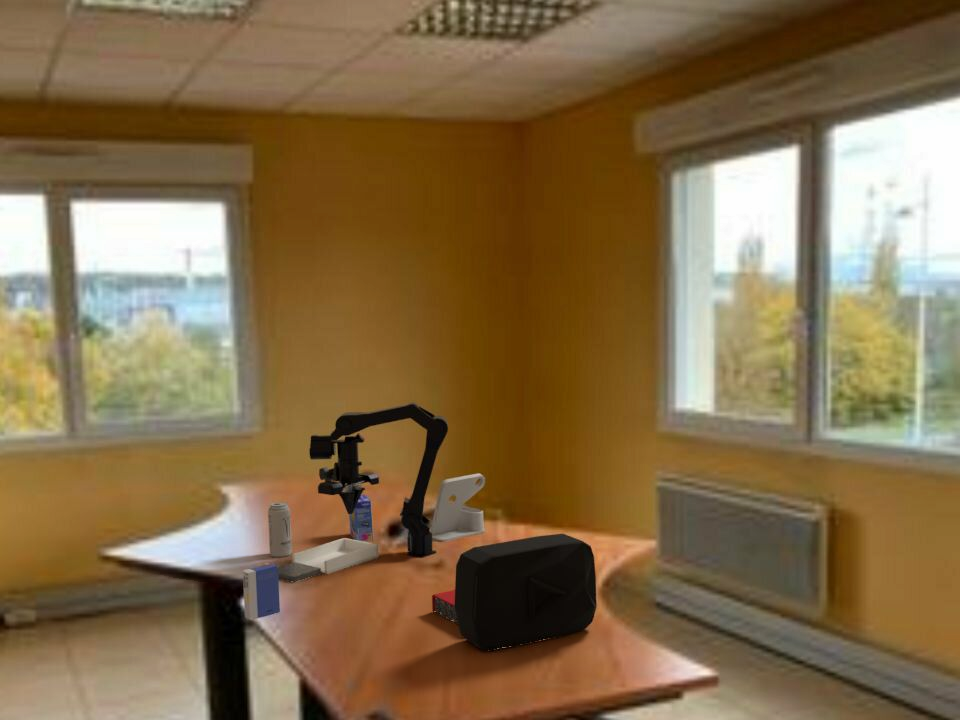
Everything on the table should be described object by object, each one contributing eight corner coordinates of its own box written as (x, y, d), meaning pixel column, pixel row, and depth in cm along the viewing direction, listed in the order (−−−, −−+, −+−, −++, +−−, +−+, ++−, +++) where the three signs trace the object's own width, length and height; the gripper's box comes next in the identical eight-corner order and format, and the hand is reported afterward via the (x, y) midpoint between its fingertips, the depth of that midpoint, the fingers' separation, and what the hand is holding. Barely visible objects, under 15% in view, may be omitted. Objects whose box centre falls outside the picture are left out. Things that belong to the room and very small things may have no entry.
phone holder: (466, 525, 307) (465, 468, 305) (488, 531, 299) (486, 472, 297) (422, 536, 295) (420, 477, 294) (442, 542, 288) (440, 481, 286)
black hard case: (574, 617, 221) (572, 529, 219) (606, 633, 210) (605, 541, 209) (454, 643, 207) (451, 550, 205) (482, 662, 196) (479, 564, 194)
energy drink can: (286, 559, 274) (284, 506, 273) (266, 559, 275) (264, 506, 274) (295, 553, 280) (292, 501, 278) (275, 553, 281) (272, 501, 280)
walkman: (273, 612, 230) (271, 561, 229) (280, 615, 228) (277, 564, 227) (243, 620, 224) (241, 569, 223) (250, 623, 222) (247, 571, 221)
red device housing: (432, 615, 226) (431, 593, 225) (484, 602, 233) (484, 582, 233) (473, 637, 211) (473, 614, 210) (528, 623, 218) (527, 601, 218)
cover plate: (321, 577, 258) (320, 568, 258) (294, 586, 251) (294, 576, 251) (295, 571, 264) (295, 562, 264) (269, 579, 257) (268, 570, 257)
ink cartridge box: (348, 534, 299) (347, 487, 298) (366, 533, 301) (365, 486, 300) (355, 542, 290) (353, 494, 289) (374, 540, 292) (372, 492, 291)
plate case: (378, 558, 272) (378, 544, 272) (327, 576, 257) (326, 561, 257) (344, 551, 280) (344, 537, 280) (292, 568, 265) (292, 553, 265)
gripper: (351, 451, 286) (353, 504, 287) (303, 461, 271) (305, 517, 272) (379, 454, 279) (381, 508, 280) (331, 465, 264) (333, 522, 265)
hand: (350, 513), depth 275 cm, fingers closed
